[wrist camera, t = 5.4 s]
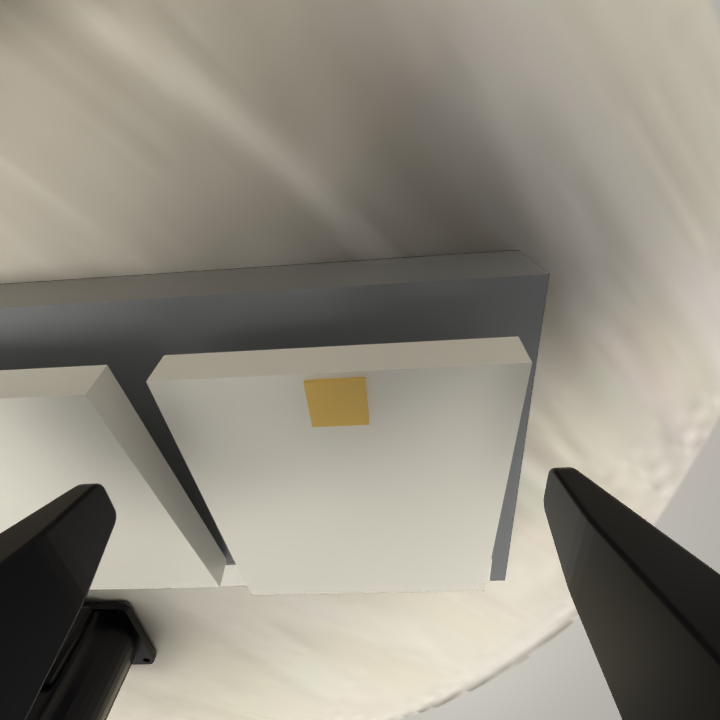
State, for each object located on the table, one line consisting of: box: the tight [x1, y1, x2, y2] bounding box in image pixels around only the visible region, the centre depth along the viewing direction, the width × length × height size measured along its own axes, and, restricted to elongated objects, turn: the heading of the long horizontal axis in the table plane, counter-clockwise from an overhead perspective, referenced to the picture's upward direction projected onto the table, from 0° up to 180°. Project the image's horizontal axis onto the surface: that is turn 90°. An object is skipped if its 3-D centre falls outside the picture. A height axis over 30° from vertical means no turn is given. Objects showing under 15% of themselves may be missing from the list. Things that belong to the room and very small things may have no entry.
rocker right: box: [146, 336, 532, 595], centre depth 15 cm, size 12×10×1 cm
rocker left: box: [0, 365, 227, 590], centre depth 15 cm, size 12×10×1 cm
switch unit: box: [0, 250, 549, 590], centre depth 18 cm, size 15×24×4 cm, turn 94°
